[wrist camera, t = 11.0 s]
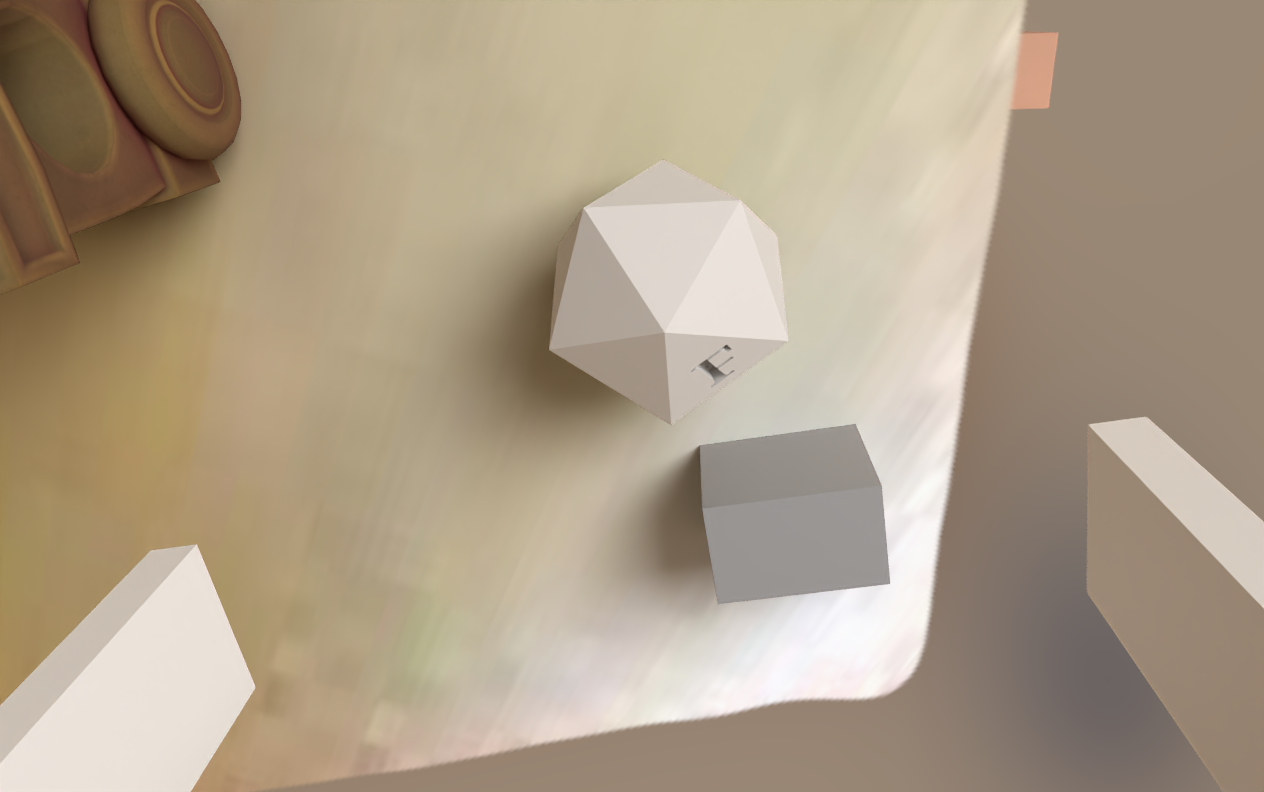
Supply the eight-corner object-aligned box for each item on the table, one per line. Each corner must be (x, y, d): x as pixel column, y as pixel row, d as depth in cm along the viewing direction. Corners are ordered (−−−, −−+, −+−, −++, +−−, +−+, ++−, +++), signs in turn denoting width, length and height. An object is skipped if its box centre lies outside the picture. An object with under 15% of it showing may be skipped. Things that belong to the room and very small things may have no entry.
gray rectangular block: (699, 444, 43) (702, 508, 37) (855, 423, 42) (881, 485, 36) (713, 530, 44) (718, 603, 39) (863, 511, 43) (890, 583, 38)
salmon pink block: (1025, 31, 64) (1058, 32, 58) (1017, 100, 65) (1048, 108, 60) (920, 34, 64) (943, 36, 58) (915, 103, 66) (936, 111, 60)
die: (656, 394, 42) (648, 501, 32) (523, 238, 39) (474, 306, 30) (814, 278, 39) (854, 358, 30) (683, 105, 37) (683, 135, 28)
